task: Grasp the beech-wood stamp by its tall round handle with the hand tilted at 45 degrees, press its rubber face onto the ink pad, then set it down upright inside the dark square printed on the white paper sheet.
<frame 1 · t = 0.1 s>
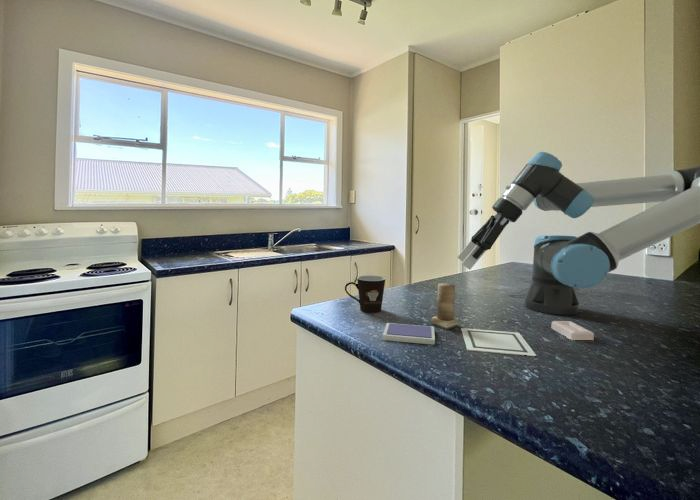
hand: (462, 263, 100), 15 cm above the counter, tool tilted 35°, fingers open, 13 cm apart
ink pad: (409, 335, 84), on the counter
sheet: (494, 341, 81), on the counter
soap bar: (571, 336, 86), on the counter
stamp: (444, 325, 92), on the counter
coffee mug: (365, 310, 105), on the counter
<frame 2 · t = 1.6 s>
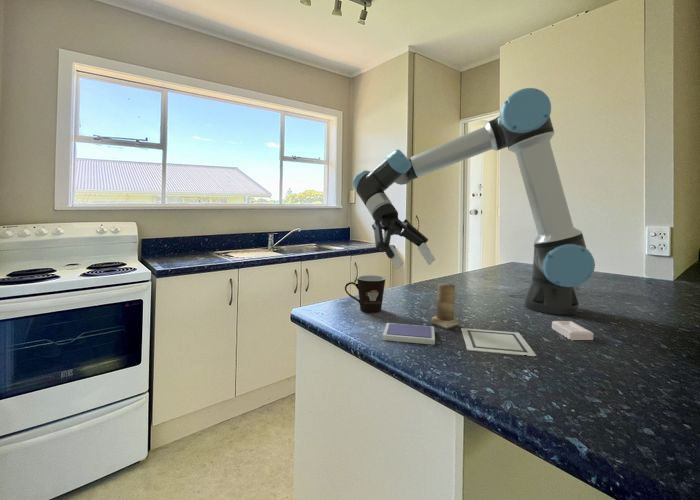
hand: (416, 264, 98), 15 cm above the counter, tool tilted 45°, fingers open, 13 cm apart
nothing on the counter moved.
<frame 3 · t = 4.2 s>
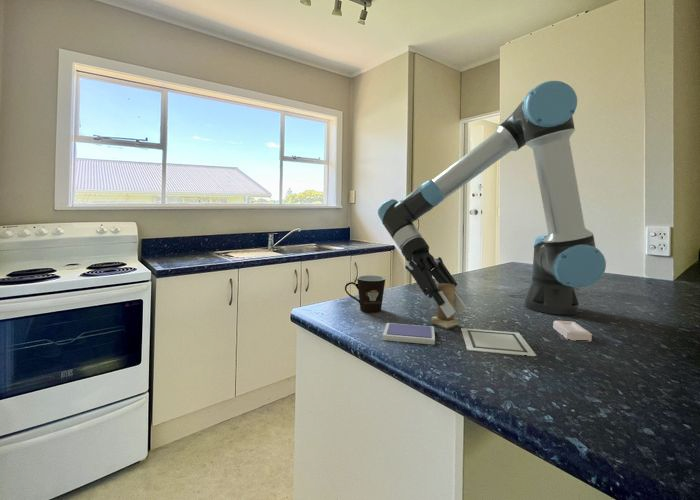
hand: (457, 313, 88), 4 cm above the counter, tool tilted 45°, fingers closed on stamp, 4 cm apart
stamp: (444, 325, 92), on the counter, touching gripper
everything else where it was.
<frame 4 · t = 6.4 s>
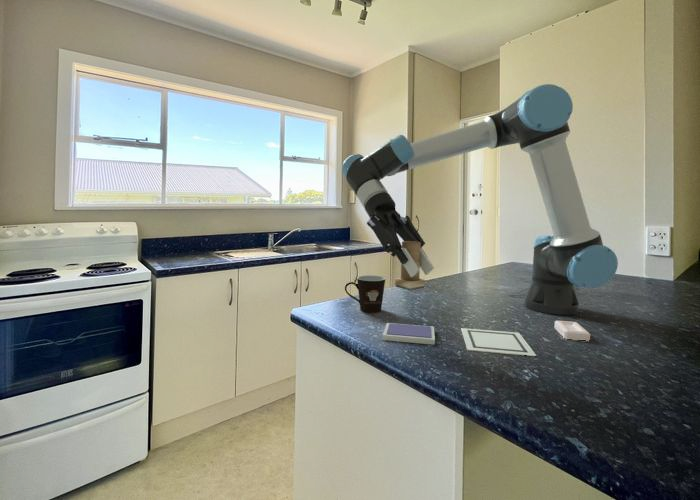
hand: (422, 272, 79), 16 cm above the counter, tool tilted 45°, fingers closed on stamp, 4 cm apart
stamp: (409, 287, 83), point 12 cm above the counter, touching gripper
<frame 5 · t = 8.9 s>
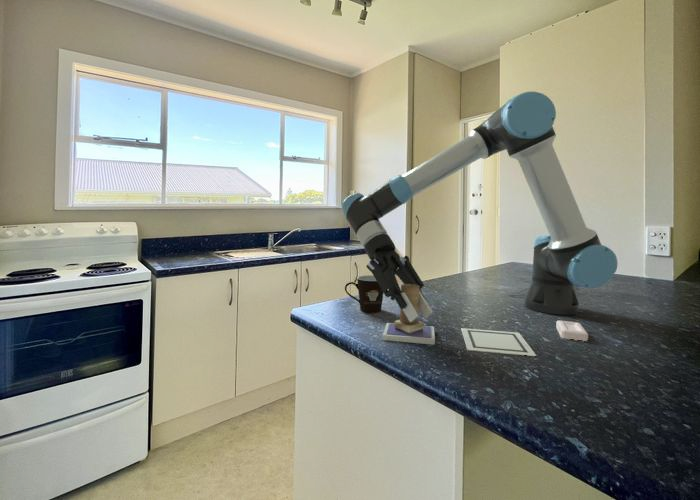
hand: (421, 316, 80), 6 cm above the counter, tool tilted 45°, fingers closed on stamp, 4 cm apart
stamp: (408, 329, 84), point 1 cm above the counter, touching gripper
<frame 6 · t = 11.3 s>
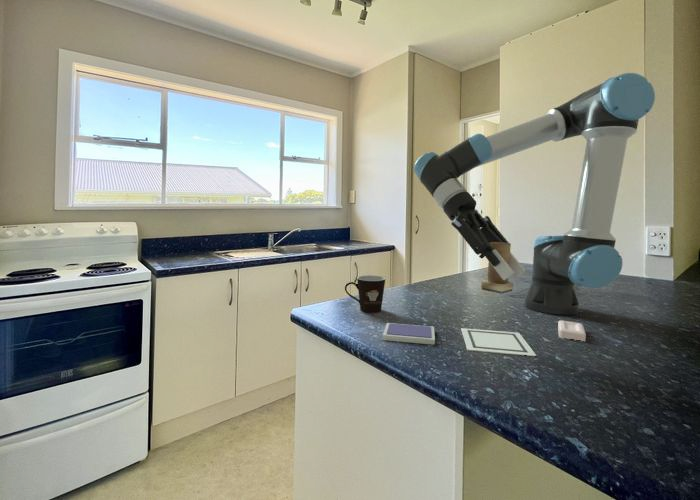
hand: (514, 275, 76), 17 cm above the counter, tool tilted 45°, fingers closed on stamp, 4 cm apart
stamp: (497, 290, 79), point 12 cm above the counter, touching gripper
when the fingers open (5 cm above the counter, at t = 13.5 s): stamp stays where it is, resting on sheet.
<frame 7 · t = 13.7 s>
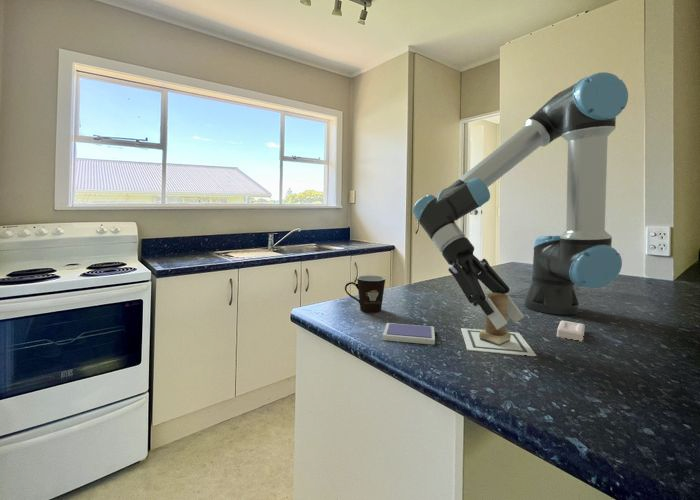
hand: (511, 322, 77), 5 cm above the counter, tool tilted 45°, fingers open, 7 cm apart
stamp: (494, 340, 81), resting on sheet
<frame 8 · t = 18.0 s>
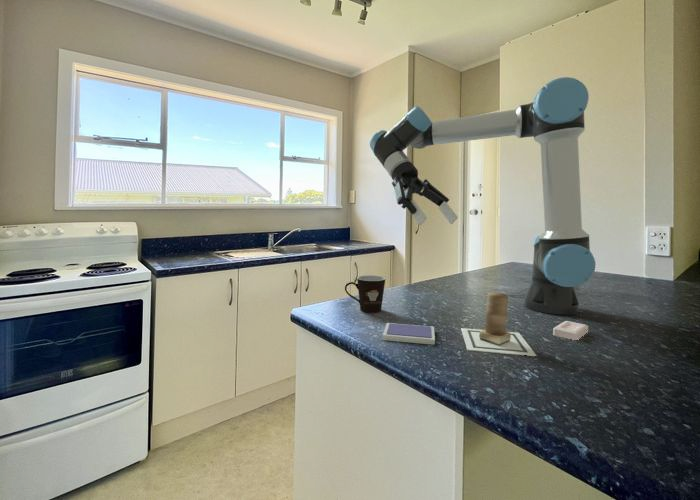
hand: (439, 221, 94), 28 cm above the counter, tool tilted 45°, fingers open, 13 cm apart
at the end: stamp 0.1 cm off-centre on the sheet, point 0.2 cm above the sheet's base; stamp tilted 0°; the gripper is holding nothing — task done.
